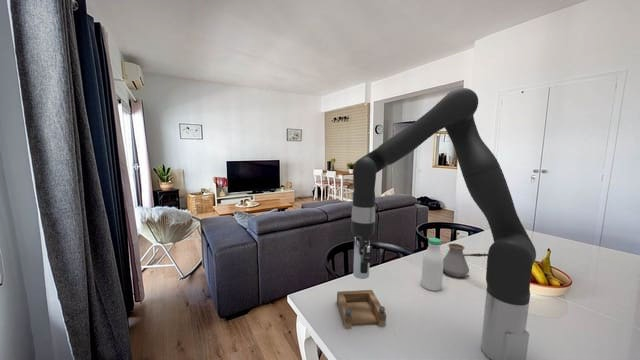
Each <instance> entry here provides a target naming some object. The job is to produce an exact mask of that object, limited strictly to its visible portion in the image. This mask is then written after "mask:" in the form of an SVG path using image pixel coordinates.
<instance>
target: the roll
mask: <svg viewBox="0 0 640 360" xmlns="http://www.w3.org/2000/svg"><path fill="white" fill-rule="evenodd" d="M361 252H363V250H362V249H361ZM365 258H366V257H365ZM360 264H361V261H360V255H359V248H358V245H356V244H355V245H354V244H353V269H352V271H353V272H352V274H353V277H355V278H356V279H361V280H364V279H369V277H370V266H371V265H370V264H371V263H368V272H367V273H361V272H360Z"/></svg>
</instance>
